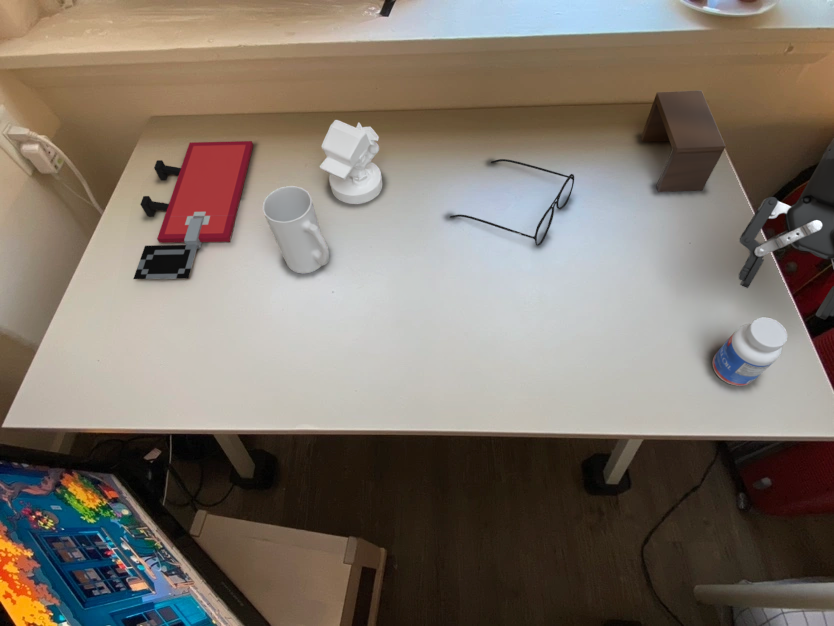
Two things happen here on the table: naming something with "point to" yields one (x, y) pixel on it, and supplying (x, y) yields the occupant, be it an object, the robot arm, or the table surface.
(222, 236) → the red board with handle
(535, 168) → the glasses
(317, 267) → the mug
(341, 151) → the character figurine
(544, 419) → the table surface
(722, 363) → the pill bottle
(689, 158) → the walnut shelf
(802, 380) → the table surface
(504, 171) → the table surface
